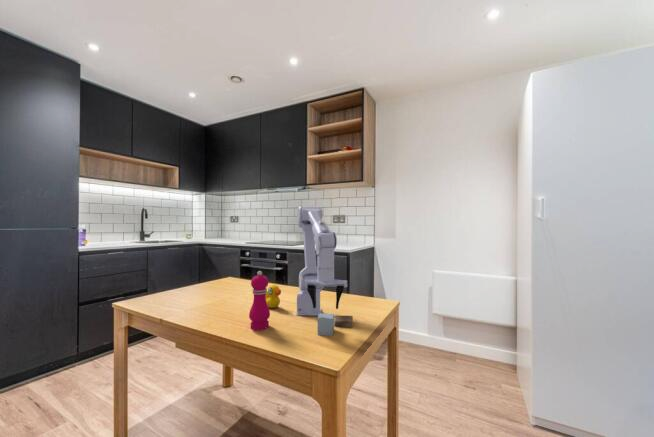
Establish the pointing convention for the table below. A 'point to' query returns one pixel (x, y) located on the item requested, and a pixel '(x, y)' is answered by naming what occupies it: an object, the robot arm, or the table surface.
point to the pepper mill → (259, 303)
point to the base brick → (344, 321)
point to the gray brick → (325, 324)
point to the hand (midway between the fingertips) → (325, 307)
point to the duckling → (273, 296)
